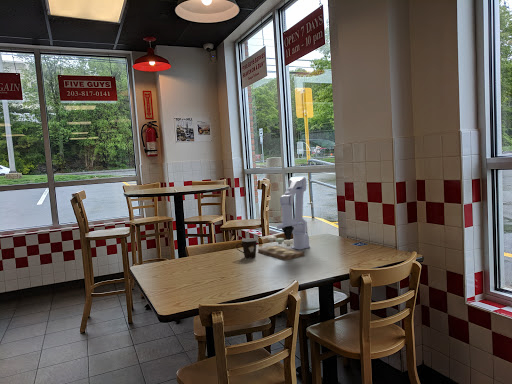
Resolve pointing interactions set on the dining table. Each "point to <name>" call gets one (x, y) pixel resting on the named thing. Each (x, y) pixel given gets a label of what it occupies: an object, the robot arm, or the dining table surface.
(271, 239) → the ivory knob
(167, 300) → the dining table surface
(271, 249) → the knob board
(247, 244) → the coffee mug
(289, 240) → the ivory knob
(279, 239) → the middle sage knob
